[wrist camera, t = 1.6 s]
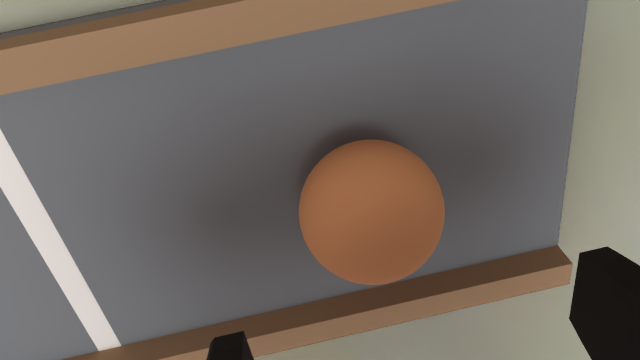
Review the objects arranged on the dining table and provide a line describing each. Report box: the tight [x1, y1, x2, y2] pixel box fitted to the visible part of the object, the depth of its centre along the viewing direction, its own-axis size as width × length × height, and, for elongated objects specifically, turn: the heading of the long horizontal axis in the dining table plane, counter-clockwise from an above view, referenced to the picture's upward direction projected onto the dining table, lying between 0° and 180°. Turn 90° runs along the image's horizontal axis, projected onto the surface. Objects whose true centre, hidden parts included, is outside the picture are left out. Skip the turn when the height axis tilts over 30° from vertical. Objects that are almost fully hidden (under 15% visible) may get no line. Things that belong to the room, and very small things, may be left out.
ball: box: [299, 139, 445, 285], centre depth 15 cm, size 4×4×4 cm
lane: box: [0, 0, 588, 360], centre depth 15 cm, size 28×12×4 cm, turn 99°
